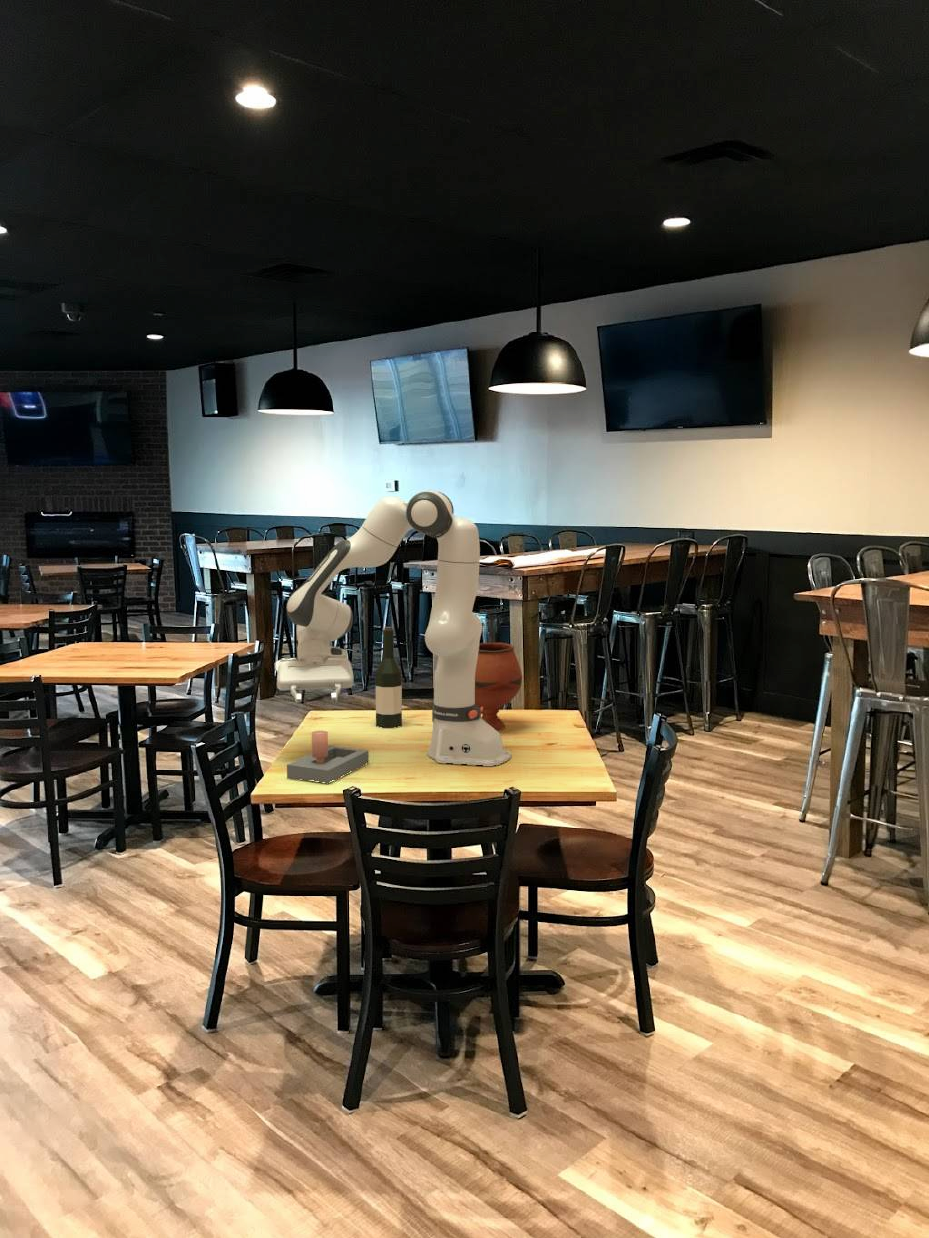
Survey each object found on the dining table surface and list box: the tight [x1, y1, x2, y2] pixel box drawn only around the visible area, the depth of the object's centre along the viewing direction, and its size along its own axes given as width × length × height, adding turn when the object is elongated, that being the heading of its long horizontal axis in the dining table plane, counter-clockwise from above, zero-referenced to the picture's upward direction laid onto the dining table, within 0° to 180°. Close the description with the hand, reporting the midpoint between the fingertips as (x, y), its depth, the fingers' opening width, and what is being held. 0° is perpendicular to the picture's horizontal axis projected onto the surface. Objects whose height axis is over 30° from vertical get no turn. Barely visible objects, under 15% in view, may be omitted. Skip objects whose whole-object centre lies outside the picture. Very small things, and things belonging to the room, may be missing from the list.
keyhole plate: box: [286, 745, 370, 783], centre depth 258 cm, size 20×12×4 cm, turn 156°
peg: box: [311, 730, 329, 764], centre depth 254 cm, size 5×5×11 cm
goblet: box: [475, 642, 523, 731], centre depth 302 cm, size 19×19×25 cm
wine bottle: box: [374, 626, 403, 729], centre depth 304 cm, size 8×8×30 cm
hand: (316, 701), depth 264 cm, fingers open, 8 cm apart
